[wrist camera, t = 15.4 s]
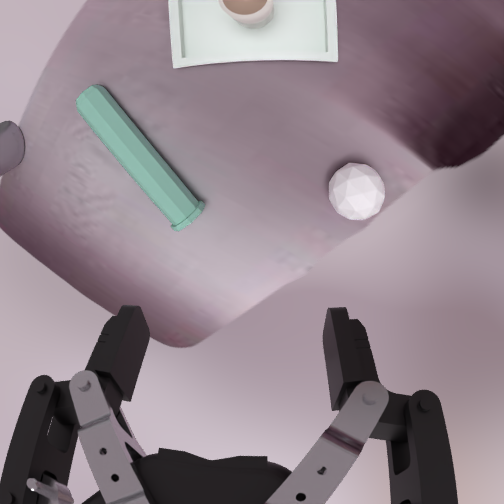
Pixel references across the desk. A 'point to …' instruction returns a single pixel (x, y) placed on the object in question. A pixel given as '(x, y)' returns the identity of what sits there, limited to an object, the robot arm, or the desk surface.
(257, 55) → the tray
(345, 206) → the geometric ball
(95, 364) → the robot arm
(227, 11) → the cup
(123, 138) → the green faceted rod
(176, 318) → the desk surface
